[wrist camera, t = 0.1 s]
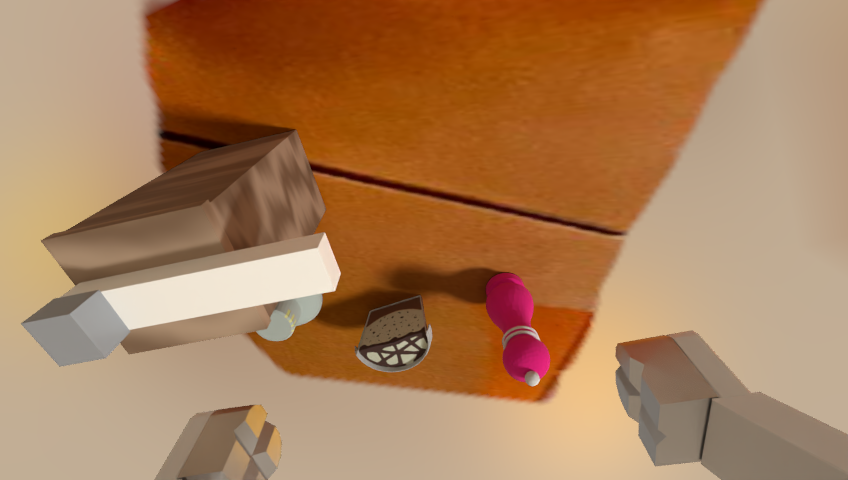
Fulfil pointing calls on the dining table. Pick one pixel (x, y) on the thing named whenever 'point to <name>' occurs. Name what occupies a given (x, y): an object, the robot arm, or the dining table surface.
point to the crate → (198, 227)
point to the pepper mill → (516, 328)
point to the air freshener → (291, 316)
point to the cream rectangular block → (180, 295)
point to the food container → (395, 336)
